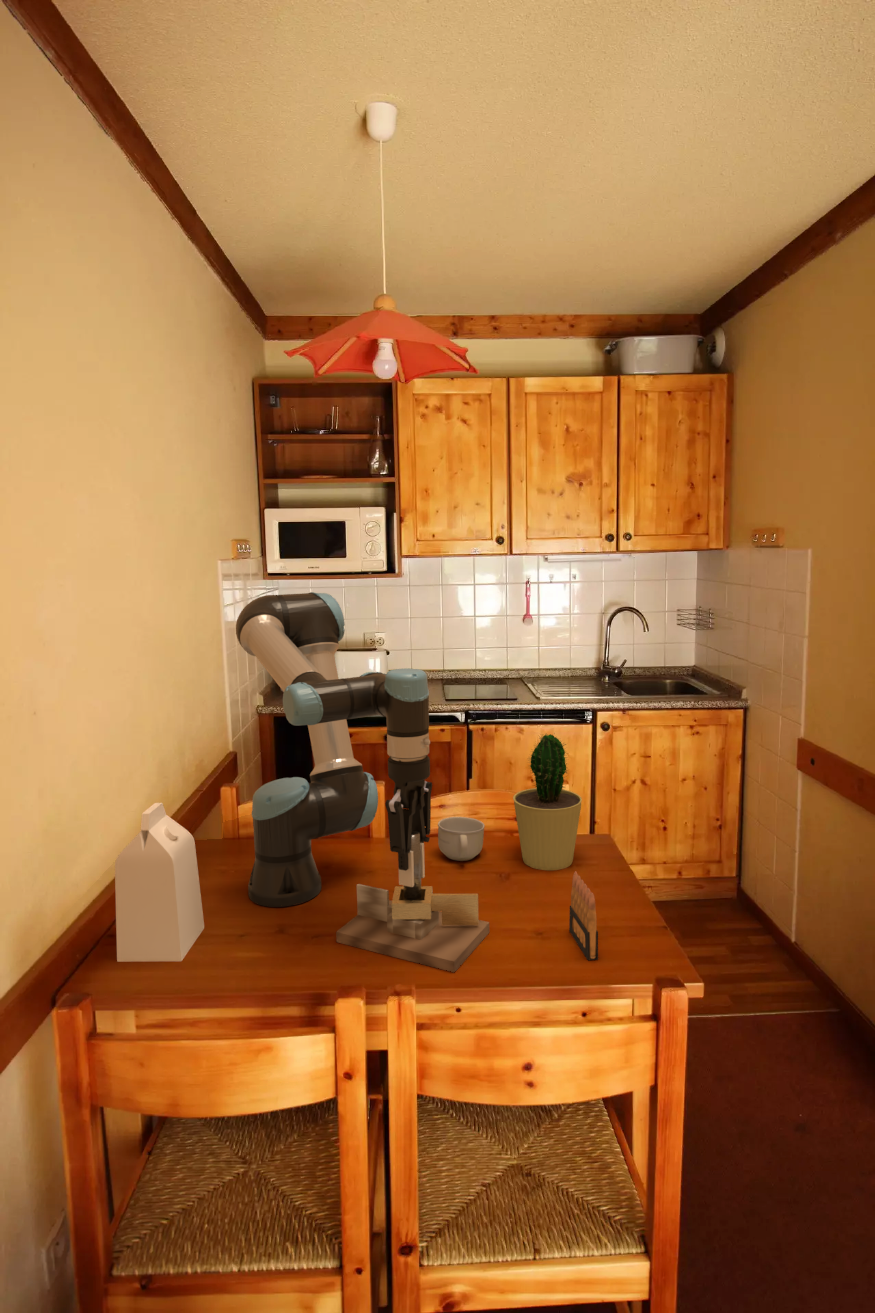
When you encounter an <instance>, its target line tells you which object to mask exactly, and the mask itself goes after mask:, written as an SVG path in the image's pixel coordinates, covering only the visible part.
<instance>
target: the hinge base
mask: <svg viewBox="0 0 875 1313" xmlns="http://www.w3.org/2000/svg"><path fill="white" fill-rule="evenodd" d="M389 894H390V893H389V889H385V888H379V887H376V886H370V885H365V884H361V883H358V884H356V902H357V903H356V904H357V905H356V906H357V915H355V916H354V917H353V918H352V919H351V920H349V921H347V923H345V924H344V925H343V926H341V928H339V929H338V930H337V931H336V932H335V933H336V934H335V936H336V943H340V944H343V945H346V946H350V947H353V948H354V947H355V948H357V949H362V950H366V951H370V952H374V953H377V954H381V955H385V956H388V957H393V958H397V959H399V960H400V959H401V960H404V961H408V962H412V963H415V964H419V963H420V964H421V965H423V966H427V967H431V968H434V969H438V968H439V970H444V971H446V970H447V972H450V971H451V973H454V972H455V971H456V972H457V971H458V969H459V968H460V967H461V966H462V964H464V963H465V962H466V961H467V959H468V958H469V956H471V954H472V953H473V952H474V951H475V950H476V948H478V946H479V945H480V944H481V943H482V941H483V940H484V939H485V938H486V937H487V936H488V934H490V921H485V920H481V919H478V924H479V925H442V911H432V915H431V919H392V900H390V895H389ZM460 965H461V966H460ZM456 972H455V973H456Z"/></svg>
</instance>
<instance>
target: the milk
mask: <svg viewBox="0 0 875 1313" xmlns="http://www.w3.org/2000/svg"><path fill="white" fill-rule="evenodd" d="M140 824H141V825H140V831H139V832H138V834H137V835H136V836H134V837H133V838H132V840H130V842H129V843H128V844H127V845H126V846H125V847H124V848H123V849H122V850H121V851H120V852H119V854H118V855H117V857H116V858H115V863H114V879H115V880H114V882H115V883H114V885H115V886H114V887H115V890H114V891H115V928H116V931H115V932H116V934H115V935H116V960H117V961H116V962H123V963H124V962H126V963H127V962H182V961H183V959H185V957H186V955H187V954H188V952H189V951H190V949H191V948H192V947H193V945H194V944H195V943H196V941H197V939H198V938H199V937H200V935H201V933H202V932H203V931H204V929H205V922H204V913H203V904H202V895H201V886H200V877H199V869H198V859H197V853H196V852H197V849H196V844H195V843H196V842H195V837H193V835H192V833H190V832H189V830H188V829H186V828H185V827H184V826H182V825H181V824H179V823H178V822H177V821H176V820H174V819H173V818H172V817H170V816H169V815H167V813H166V809H165V807H164V803H163V802H154V803H153V804H152V805H151V806H149V807H148V808H147V809H146V810H144V811H143V812H142V813H141V823H140Z"/></svg>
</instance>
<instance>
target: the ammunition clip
mask: <svg viewBox="0 0 875 1313" xmlns="http://www.w3.org/2000/svg"><path fill="white" fill-rule="evenodd" d="M571 884H572V886H571V893H570V905H569V923H568V924H569V926H568V928H569V930H568V931H569V933H570V934H571V937H573V939H574V940H575V942H576V945H577V946H578V947H579V949H580V950H581V952H582V953H583V955H584V957H585V958H586V960H587V961H594V960H599V931H598V929H597V913H596V911H597V910H596V899H595V898H596V897H595V894H594V893H593V892H592V891H591V890H590V887H588V885H587V884H586V883H585V882H584V879H581V876H580V874H578V873H577V871H576V870H575V871H574V873H573V875H572V883H571Z"/></svg>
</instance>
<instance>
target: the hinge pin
mask: <svg viewBox="0 0 875 1313" xmlns="http://www.w3.org/2000/svg"><path fill="white" fill-rule="evenodd" d="M410 851H413V861H414V886H413V887H409V886H404V885H403V886H404V898H405V899H407V900H418V899H420V898H421V886H422V878H421V859H420V833H419V832H418V831H413V830H412V832H411V849H410Z"/></svg>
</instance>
